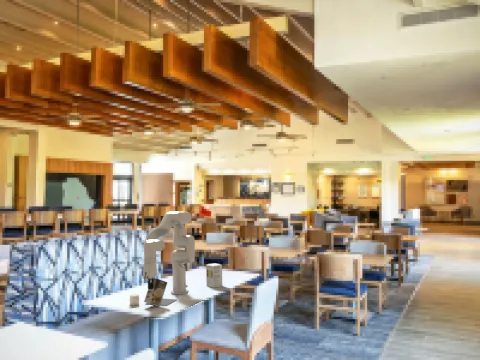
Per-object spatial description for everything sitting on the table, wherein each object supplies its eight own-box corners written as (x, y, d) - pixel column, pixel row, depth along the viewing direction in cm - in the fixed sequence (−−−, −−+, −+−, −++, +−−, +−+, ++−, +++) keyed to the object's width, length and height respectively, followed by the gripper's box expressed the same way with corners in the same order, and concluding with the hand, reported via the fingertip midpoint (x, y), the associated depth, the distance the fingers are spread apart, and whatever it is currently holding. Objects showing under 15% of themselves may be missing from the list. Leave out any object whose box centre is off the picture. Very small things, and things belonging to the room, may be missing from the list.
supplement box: (206, 285, 322) (205, 264, 323) (215, 283, 329) (214, 262, 329) (213, 287, 315) (213, 265, 316) (222, 285, 321) (222, 264, 322)
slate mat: (156, 298, 287) (156, 298, 287) (177, 300, 282) (177, 299, 282) (145, 304, 273) (145, 303, 273) (166, 305, 268) (166, 305, 268)
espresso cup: (133, 303, 277) (133, 294, 277) (140, 303, 275) (140, 294, 275) (128, 305, 271) (127, 296, 272) (135, 306, 269) (135, 296, 270)
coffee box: (149, 303, 260) (157, 278, 266) (143, 301, 265) (151, 277, 270) (160, 306, 267) (167, 282, 273) (153, 305, 271) (161, 281, 277)
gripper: (151, 258, 274) (151, 285, 273) (138, 262, 260) (139, 291, 259) (161, 258, 271) (161, 286, 271) (149, 262, 257) (149, 291, 257)
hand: (150, 288), depth 265 cm, fingers closed
